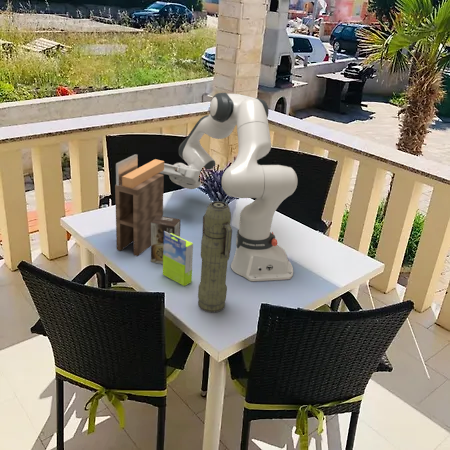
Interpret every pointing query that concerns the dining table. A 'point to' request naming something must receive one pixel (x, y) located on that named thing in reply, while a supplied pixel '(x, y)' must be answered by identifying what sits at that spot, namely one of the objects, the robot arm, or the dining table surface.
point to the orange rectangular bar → (142, 173)
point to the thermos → (215, 257)
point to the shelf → (138, 212)
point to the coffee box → (162, 235)
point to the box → (177, 258)
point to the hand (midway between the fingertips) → (166, 166)
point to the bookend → (125, 167)
